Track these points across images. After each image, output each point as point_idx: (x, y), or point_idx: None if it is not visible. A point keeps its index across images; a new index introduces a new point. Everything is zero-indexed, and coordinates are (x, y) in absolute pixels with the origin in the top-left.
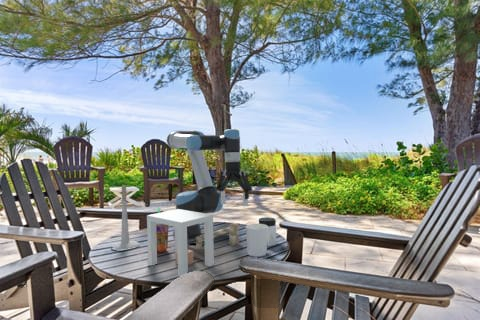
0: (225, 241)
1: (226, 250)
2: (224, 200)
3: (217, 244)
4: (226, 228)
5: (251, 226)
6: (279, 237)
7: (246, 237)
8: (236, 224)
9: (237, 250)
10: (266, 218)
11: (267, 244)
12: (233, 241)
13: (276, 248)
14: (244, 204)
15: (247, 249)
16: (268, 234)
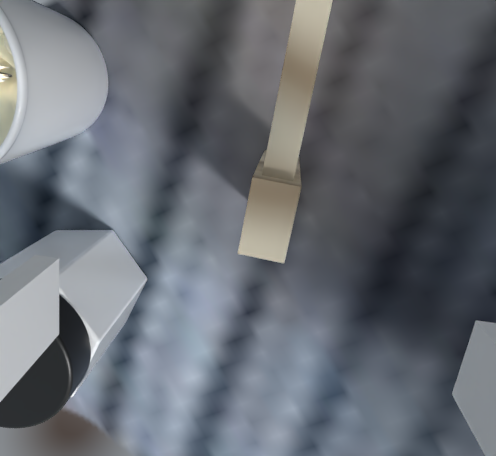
0: (364, 213)
1: (258, 36)
2: (482, 414)
3: (386, 128)
4: (285, 97)
5: (20, 131)
6: (90, 410)
7: (43, 19)
8: (243, 225)
9: (190, 73)
10: (15, 385)
11: (58, 232)
12: (262, 155)
13: (2, 216)
14: (20, 266)
15: (79, 30)
16: (14, 256)
